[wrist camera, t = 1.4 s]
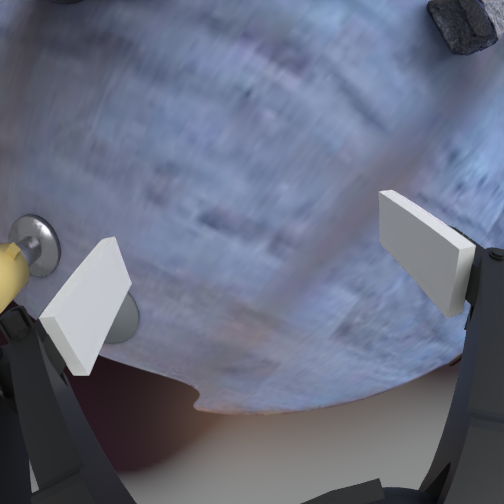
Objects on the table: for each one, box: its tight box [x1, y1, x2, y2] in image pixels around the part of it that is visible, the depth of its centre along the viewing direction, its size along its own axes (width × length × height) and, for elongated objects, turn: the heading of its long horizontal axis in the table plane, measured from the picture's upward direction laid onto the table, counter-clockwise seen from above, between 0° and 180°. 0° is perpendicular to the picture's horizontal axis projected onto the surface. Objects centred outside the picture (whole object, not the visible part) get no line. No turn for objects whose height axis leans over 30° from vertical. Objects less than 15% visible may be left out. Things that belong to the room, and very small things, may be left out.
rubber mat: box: [104, 292, 139, 343], centre depth 45 cm, size 13×13×1 cm
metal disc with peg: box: [9, 214, 61, 277], centre depth 37 cm, size 10×10×7 cm
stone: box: [427, 0, 504, 55], centre depth 25 cm, size 12×10×10 cm
